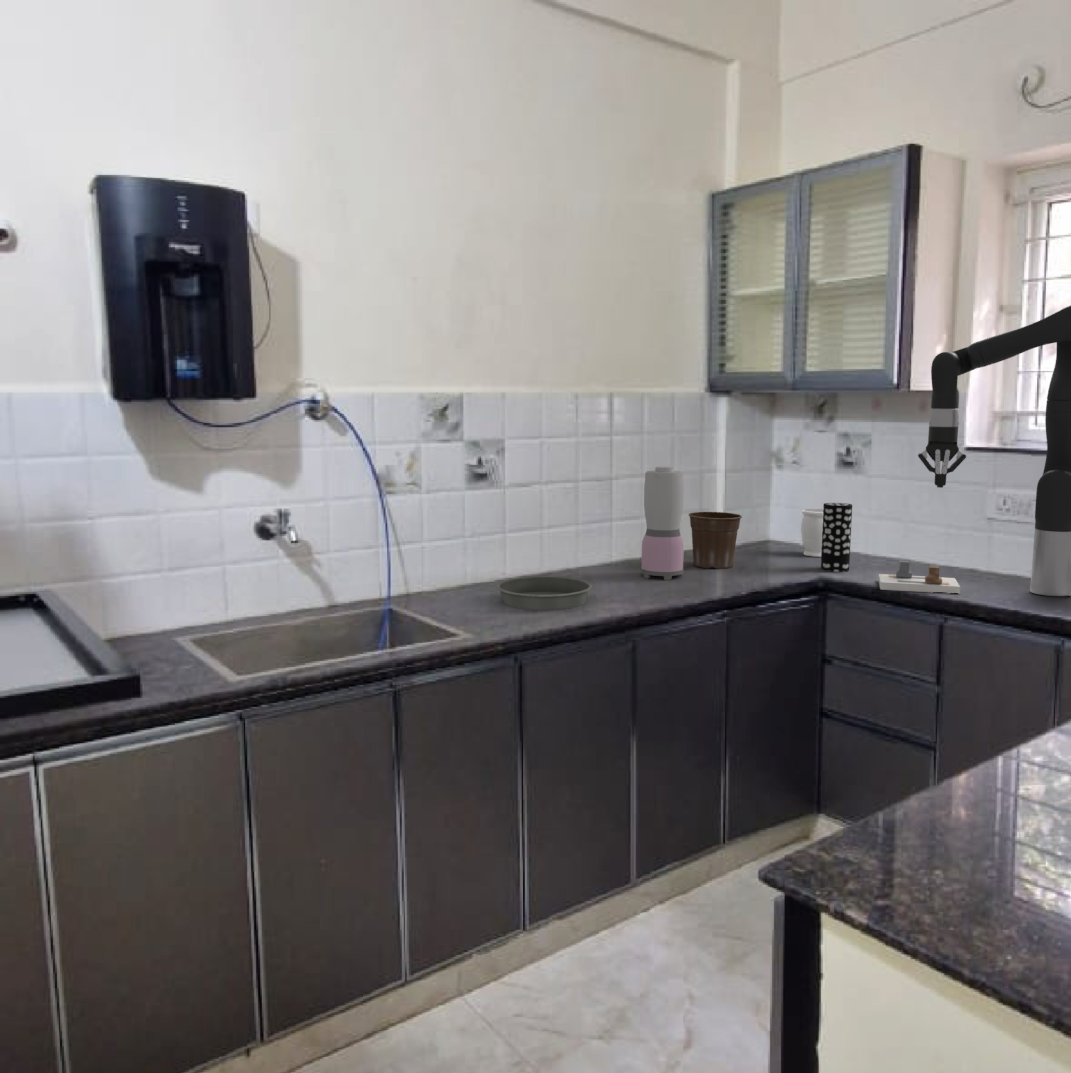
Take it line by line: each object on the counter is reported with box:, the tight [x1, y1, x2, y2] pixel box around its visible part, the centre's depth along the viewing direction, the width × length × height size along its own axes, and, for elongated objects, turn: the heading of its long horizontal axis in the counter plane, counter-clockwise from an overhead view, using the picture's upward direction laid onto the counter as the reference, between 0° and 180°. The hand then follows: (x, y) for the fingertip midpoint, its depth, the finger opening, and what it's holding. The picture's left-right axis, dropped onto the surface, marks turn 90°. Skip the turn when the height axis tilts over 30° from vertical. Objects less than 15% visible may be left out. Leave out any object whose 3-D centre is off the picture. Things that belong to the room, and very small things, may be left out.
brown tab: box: [925, 565, 942, 584], centre depth 258 cm, size 4×4×4 cm
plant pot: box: [688, 511, 743, 570], centre depth 295 cm, size 16×16×16 cm
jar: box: [800, 508, 823, 558], centre depth 316 cm, size 11×10×15 cm
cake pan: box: [495, 575, 593, 611], centre depth 244 cm, size 25×25×4 cm
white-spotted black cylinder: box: [820, 502, 853, 573], centre depth 289 cm, size 8×8×20 cm
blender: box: [640, 465, 685, 581], centre depth 278 cm, size 16×12×32 cm
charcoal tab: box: [895, 559, 913, 578], centre depth 267 cm, size 4×4×4 cm
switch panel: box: [878, 573, 961, 595], centre depth 263 cm, size 20×13×2 cm, turn 72°
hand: (939, 487), depth 267 cm, fingers closed
